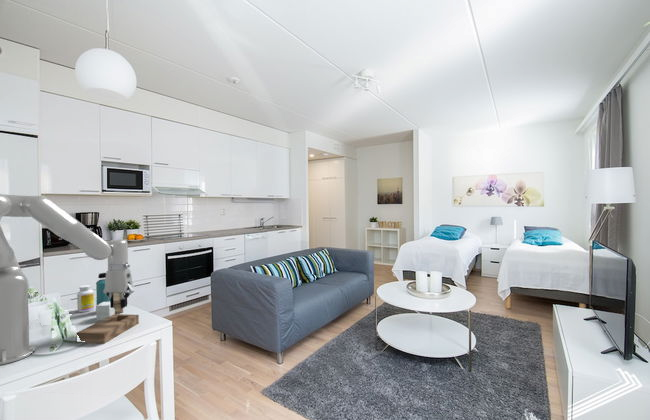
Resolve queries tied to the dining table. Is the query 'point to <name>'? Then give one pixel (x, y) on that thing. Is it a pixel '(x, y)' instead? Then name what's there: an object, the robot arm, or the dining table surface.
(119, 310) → the beech peg
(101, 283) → the beverage bottle
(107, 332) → the walnut board
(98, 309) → the skincare box
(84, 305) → the supplement bottle
